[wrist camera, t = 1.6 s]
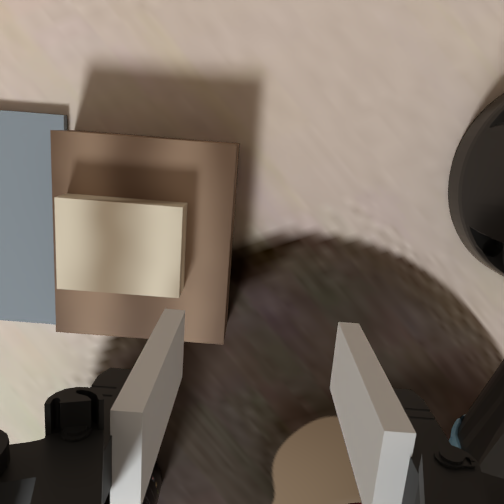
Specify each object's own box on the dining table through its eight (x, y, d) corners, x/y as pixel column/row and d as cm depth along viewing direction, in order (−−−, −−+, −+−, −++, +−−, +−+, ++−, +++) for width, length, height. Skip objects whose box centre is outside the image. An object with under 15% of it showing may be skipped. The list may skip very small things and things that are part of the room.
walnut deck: (239, 143, 34) (236, 144, 30) (227, 322, 37) (223, 344, 34) (74, 130, 34) (50, 130, 30) (77, 311, 37) (55, 331, 34)
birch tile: (187, 202, 31) (182, 207, 29) (183, 288, 33) (179, 298, 31) (67, 193, 31) (54, 197, 29) (68, 279, 33) (56, 288, 31)
